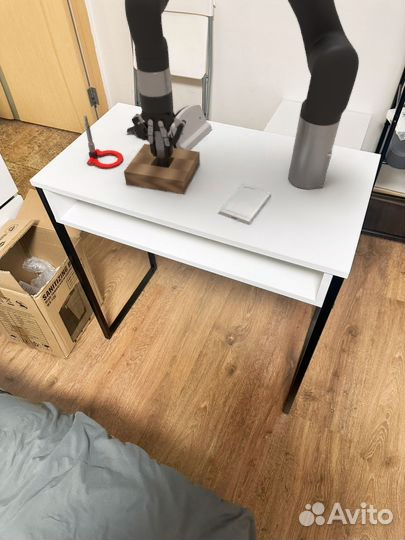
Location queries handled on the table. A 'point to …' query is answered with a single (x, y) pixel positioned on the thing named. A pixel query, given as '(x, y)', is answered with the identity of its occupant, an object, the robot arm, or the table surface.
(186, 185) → the wooden square frame
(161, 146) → the pin
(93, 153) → the tow hook
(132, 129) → the black rounded piece
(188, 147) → the grey rounded slab
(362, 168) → the table surface
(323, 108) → the robot arm
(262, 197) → the hard drive
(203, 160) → the table surface
